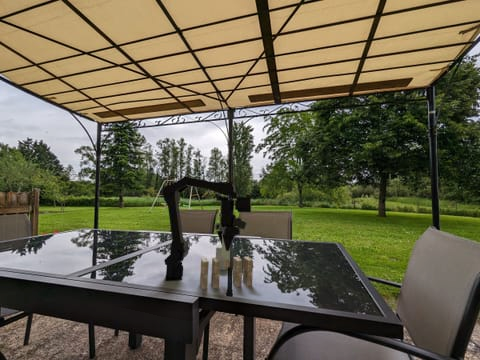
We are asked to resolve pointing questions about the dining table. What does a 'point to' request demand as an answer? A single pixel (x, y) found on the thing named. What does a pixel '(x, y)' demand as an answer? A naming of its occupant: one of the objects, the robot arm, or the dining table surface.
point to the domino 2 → (215, 272)
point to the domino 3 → (225, 252)
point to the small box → (222, 259)
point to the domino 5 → (247, 271)
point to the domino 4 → (237, 271)
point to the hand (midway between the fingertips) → (225, 249)
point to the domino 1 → (204, 273)
